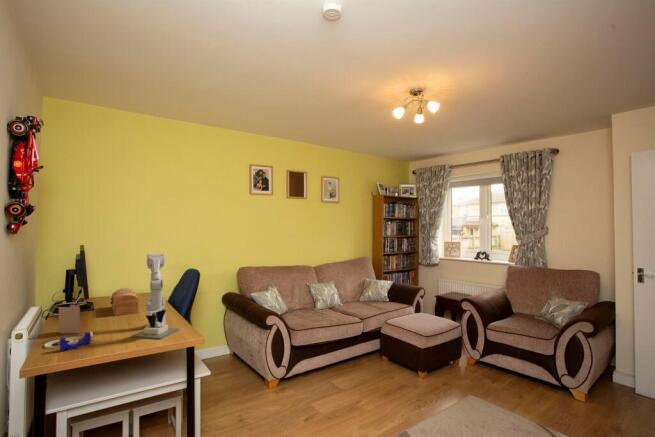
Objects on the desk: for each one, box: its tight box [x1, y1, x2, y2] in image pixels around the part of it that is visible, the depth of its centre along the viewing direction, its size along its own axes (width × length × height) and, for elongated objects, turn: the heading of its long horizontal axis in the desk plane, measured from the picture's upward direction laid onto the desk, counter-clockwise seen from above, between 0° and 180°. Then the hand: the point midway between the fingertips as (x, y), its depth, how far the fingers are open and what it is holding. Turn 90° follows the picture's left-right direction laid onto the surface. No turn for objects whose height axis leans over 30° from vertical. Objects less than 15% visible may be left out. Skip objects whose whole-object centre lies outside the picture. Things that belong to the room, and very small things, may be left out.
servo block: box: [146, 322, 166, 328], centre depth 188 cm, size 3×9×6 cm, turn 88°
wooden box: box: [110, 287, 139, 317], centre depth 241 cm, size 30×16×14 cm, turn 34°
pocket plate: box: [131, 324, 180, 340], centre depth 188 cm, size 16×18×4 cm
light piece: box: [43, 331, 94, 349], centre depth 175 cm, size 12×3×20 cm
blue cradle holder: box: [59, 331, 91, 353], centre depth 168 cm, size 12×4×6 cm, turn 143°
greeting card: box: [58, 304, 81, 334], centre depth 191 cm, size 11×7×15 cm, turn 59°
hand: (156, 325), depth 188 cm, fingers open, 7 cm apart
